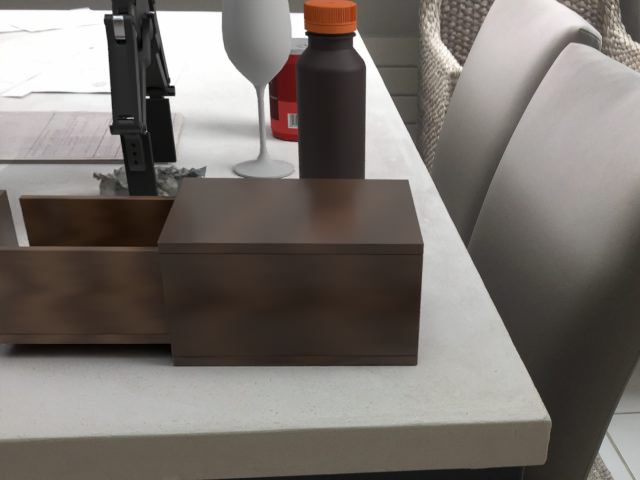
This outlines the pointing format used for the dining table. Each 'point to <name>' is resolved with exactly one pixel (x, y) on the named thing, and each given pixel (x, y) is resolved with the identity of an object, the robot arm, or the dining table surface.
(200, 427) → the dining table surface
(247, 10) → the wineglass
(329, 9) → the bottle
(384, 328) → the cabinet
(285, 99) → the canned food
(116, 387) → the dining table surface
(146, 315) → the drawer
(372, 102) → the dining table surface
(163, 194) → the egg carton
